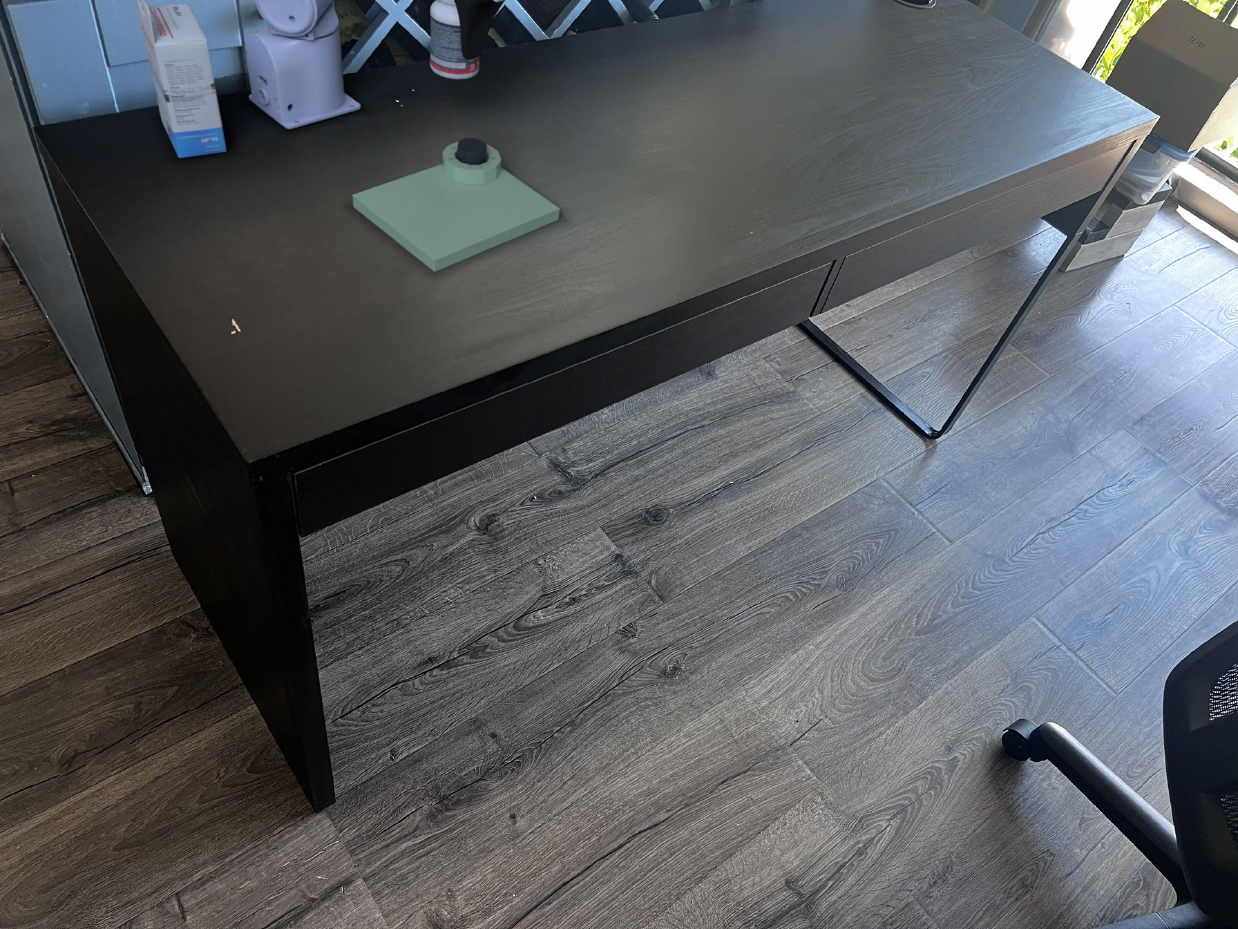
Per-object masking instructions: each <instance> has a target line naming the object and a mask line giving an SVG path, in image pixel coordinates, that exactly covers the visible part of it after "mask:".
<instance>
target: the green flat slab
mask: <svg viewBox="0 0 1238 929" xmlns="http://www.w3.org/2000/svg"><path fill="white" fill-rule="evenodd" d="M458 142H459V141H456V142H453V143H451V144H450V143H449V144H448V145H447V146H446V147H445V148H444V149H443V151H442V153H441V154H442V157H441V158H442V159H441V161H442V163H441V164H438V165H435V166H432V167H430V168H426V169H424V170H420V171H417V172H415V173H411V174H409V175H406V176H403V177H401V178H397V179H395V180H391V181H389V182H386V183H382V184H379V185H377V186H374V187H371V188H368V189H366V190H363V191H359V192H356V193H354V194H352V196H351V197H352V207H353V208H354V209H355V210H357V211H358V212H359V213H360V214H361V215H363V216H364V217H365V218H367V219H368V220H369V221H370V222H371V223H373V224H374V225H375V226H377V227H378V228H379V229H380V230H381V231H382V232H384V233H385V234H386V235H388V236H389V237H390V238H391V239H393V240H394V242H396V243H398V245H400V246H401V247H403V248H404V249H405V250H406V251H408V252H409V253H410V254H411V255H412V256H414V257H415V258H416V259H418V260H419V261H420V262H421V263H423V264H424V265H425V266H426V267H428V268H429V269H430V270H431V271H432V272H434V273H435V272H438V271H440V270H443V269H445V268H448V267H450V266H452V265H454V264H458V263H459V262H462V261H464V260H466V259H468V258H471V257H473V256H476V255H478V254H481V253H483V252H487V250H491V249H492V248H495V247H497V246H501V245H502V244H504V243H507V242H510V241H511V240H514V239H516V238H520V237H521V236H524V235H527V234H528V233H530V232H533V231H536V230H538V229H540V228H543V227H545V226H548V225H550V224H552V223H555V222H556V221H559V218H560V210H561V207H559V206H557V205H556V204H555V203H553V202H551V200H549V199H547V198H546V197H544V196H543V195H542V194H540V193H539V192H537V191H536V190H534V189H533V188H532V187H530V186H528V185H527V184H526V183H525V182H523V181H521V180H520V179H519V178H517V177H516V176H514V175H513V174H511V173H510V172H508V171H507V170H505V169H504V168H503V167H502V157H501V155H500V152H499V151H498V150H497V149H495V148H494V147H492V146H491V145H490V144H486V145H487V158H486V162H485V163H483V164H480V165H468V164H465V163H461V162H460V161H459V160H458V158H457V150H458Z"/></svg>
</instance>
